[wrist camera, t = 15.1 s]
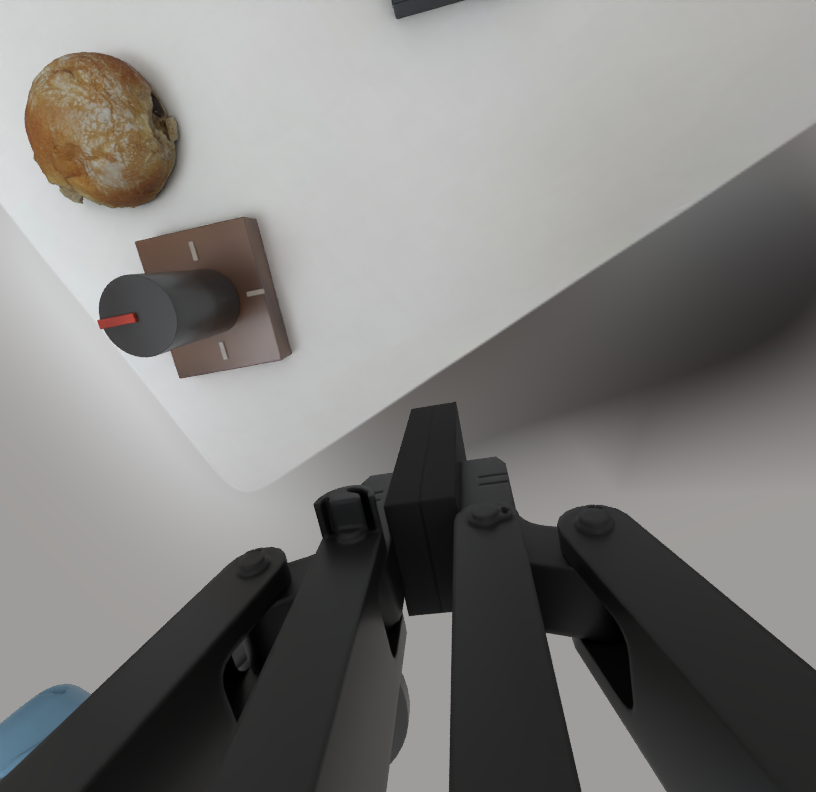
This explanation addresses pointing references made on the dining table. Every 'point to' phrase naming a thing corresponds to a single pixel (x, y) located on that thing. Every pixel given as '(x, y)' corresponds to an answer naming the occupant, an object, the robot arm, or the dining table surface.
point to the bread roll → (100, 130)
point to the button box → (417, 6)
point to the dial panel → (249, 273)
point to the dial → (167, 309)
